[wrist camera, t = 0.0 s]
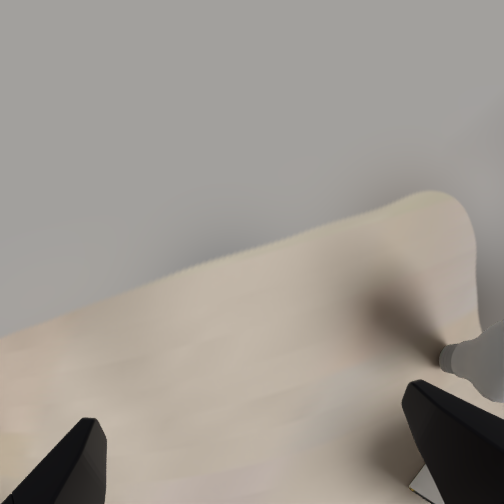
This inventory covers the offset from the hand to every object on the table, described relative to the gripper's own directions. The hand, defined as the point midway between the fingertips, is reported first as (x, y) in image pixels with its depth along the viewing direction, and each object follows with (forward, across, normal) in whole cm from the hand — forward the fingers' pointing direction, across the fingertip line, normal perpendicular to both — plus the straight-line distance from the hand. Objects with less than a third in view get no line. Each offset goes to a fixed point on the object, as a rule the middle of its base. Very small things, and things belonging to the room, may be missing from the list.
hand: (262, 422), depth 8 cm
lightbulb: (+11, -19, +11) cm, 24 cm away
